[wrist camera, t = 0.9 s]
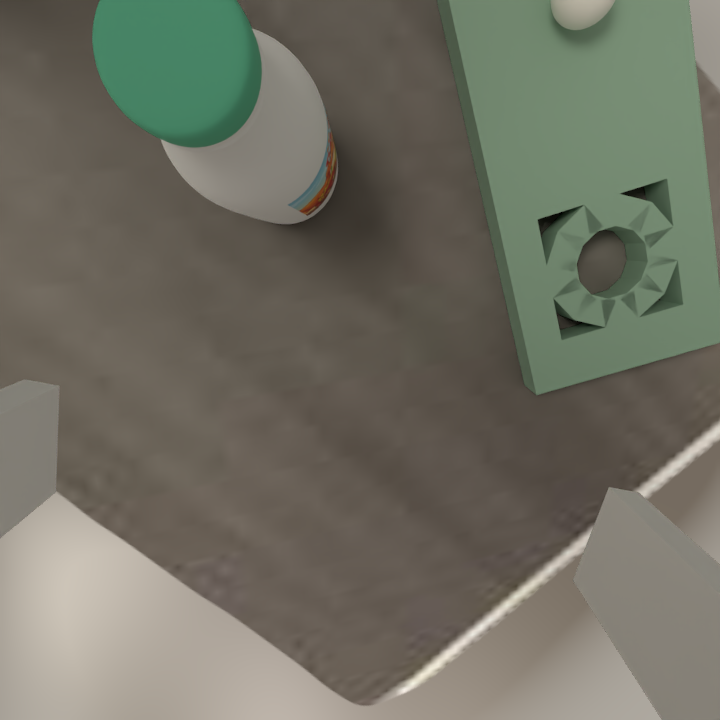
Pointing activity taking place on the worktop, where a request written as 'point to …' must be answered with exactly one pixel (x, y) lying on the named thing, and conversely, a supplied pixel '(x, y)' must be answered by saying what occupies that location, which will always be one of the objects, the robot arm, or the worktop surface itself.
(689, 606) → the robot arm
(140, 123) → the milk bottle
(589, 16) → the ball
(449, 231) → the worktop surface
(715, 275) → the plate
